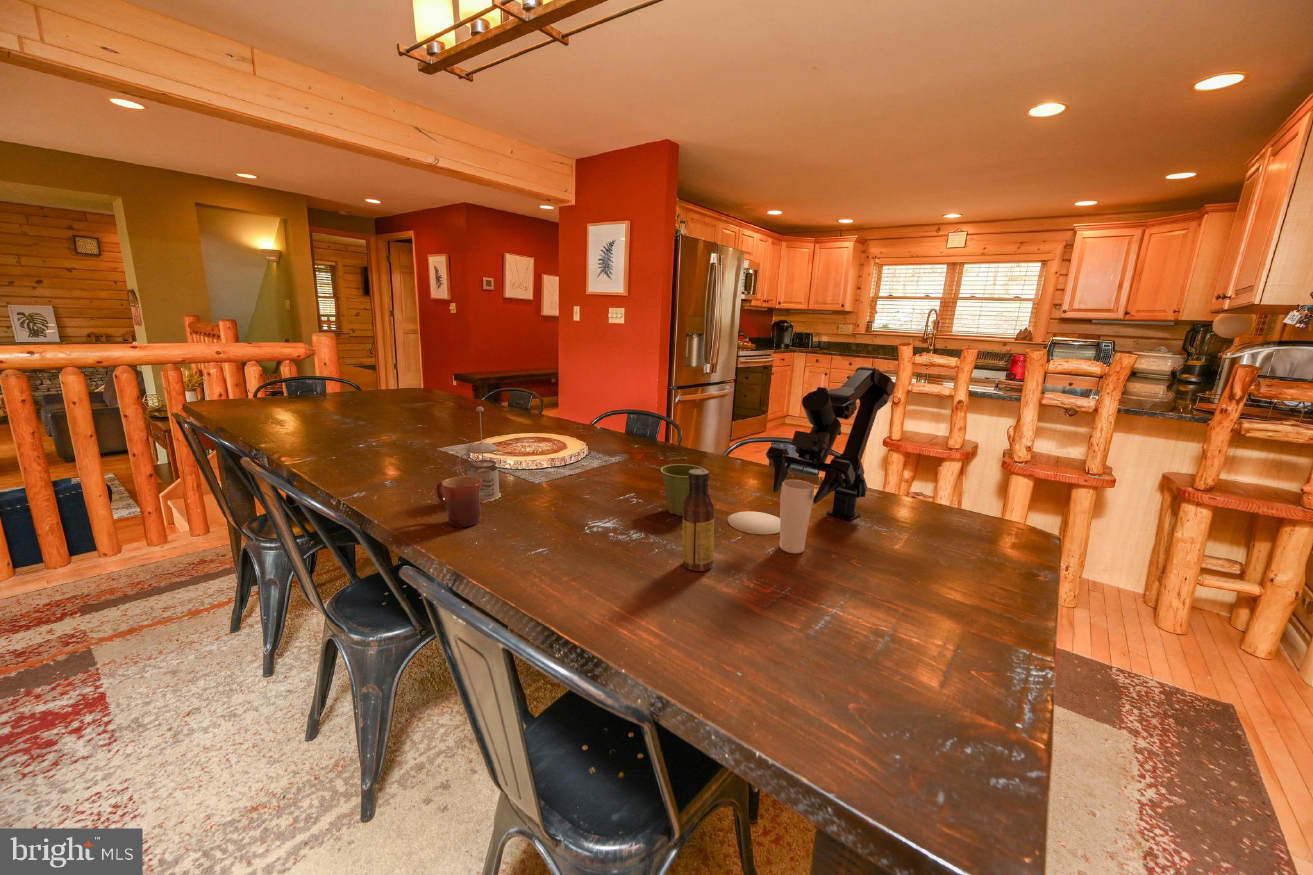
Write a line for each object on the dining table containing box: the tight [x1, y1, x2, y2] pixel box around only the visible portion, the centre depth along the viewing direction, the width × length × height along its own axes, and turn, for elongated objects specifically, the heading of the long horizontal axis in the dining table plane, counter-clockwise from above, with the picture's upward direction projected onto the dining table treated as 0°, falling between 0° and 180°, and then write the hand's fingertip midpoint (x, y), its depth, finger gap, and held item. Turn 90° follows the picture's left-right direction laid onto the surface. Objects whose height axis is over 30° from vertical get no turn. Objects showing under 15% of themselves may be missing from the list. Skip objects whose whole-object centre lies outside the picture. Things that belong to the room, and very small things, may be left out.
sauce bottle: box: [681, 468, 715, 572], centre depth 98 cm, size 7×6×20 cm
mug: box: [435, 475, 483, 529], centre depth 117 cm, size 12×9×10 cm
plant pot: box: [660, 463, 707, 517], centre depth 128 cm, size 12×12×11 cm
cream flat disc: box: [727, 510, 780, 536], centre depth 124 cm, size 14×14×1 cm
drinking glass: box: [778, 479, 815, 554], centre depth 108 cm, size 7×7×15 cm
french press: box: [455, 406, 502, 502], centre depth 132 cm, size 10×12×25 cm
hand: (793, 497), depth 106 cm, fingers open, 9 cm apart
